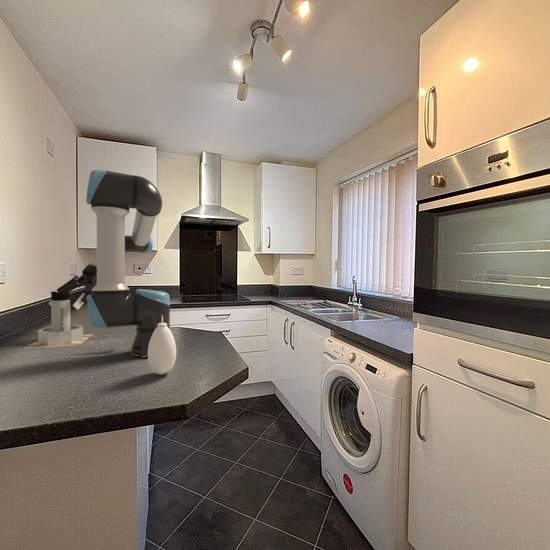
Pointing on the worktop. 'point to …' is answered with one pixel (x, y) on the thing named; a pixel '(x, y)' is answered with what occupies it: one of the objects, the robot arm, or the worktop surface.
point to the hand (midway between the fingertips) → (63, 306)
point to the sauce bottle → (161, 349)
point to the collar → (60, 336)
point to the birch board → (58, 345)
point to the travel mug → (60, 311)
